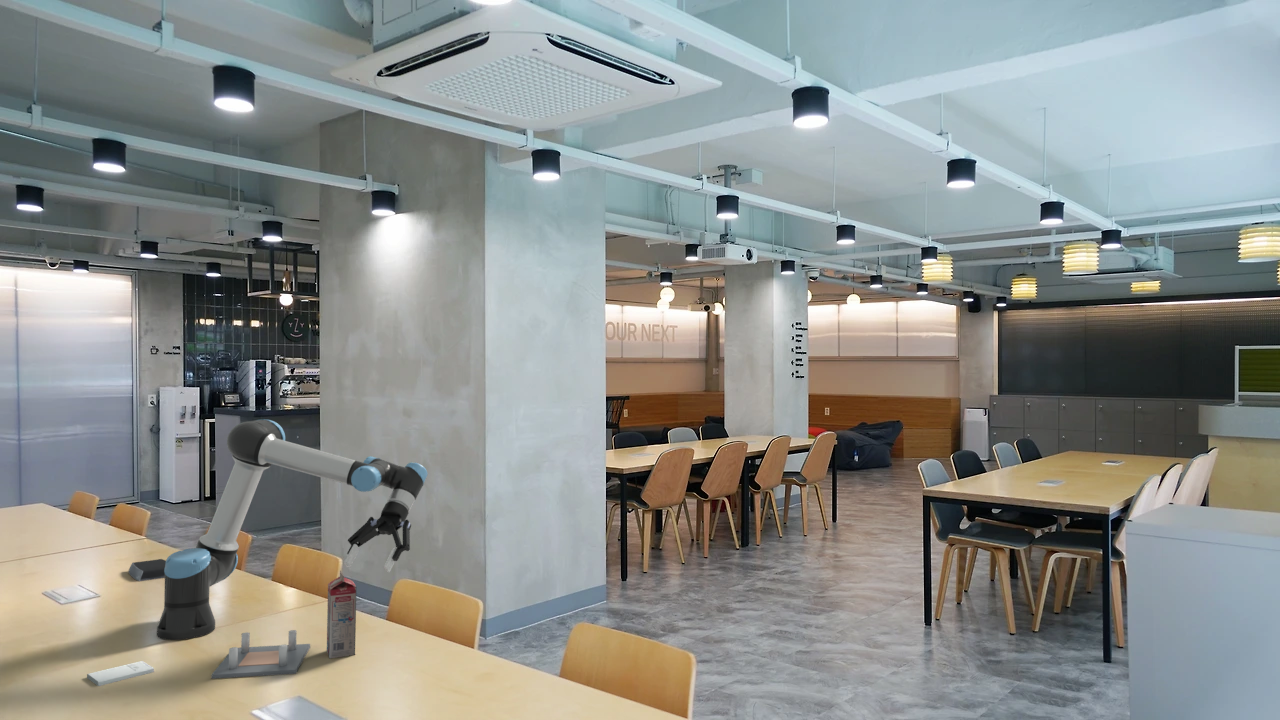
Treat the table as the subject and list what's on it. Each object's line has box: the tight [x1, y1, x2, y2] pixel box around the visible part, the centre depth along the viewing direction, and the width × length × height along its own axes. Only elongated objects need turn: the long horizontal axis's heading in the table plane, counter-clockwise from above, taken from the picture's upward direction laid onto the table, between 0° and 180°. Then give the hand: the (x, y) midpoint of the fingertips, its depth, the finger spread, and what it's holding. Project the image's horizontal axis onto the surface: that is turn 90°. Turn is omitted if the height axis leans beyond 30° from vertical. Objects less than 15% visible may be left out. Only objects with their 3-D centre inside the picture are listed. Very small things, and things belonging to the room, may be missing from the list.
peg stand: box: [210, 629, 311, 679], centre depth 215 cm, size 20×20×6 cm
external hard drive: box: [128, 558, 166, 582], centre depth 304 cm, size 13×19×4 cm
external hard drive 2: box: [86, 660, 155, 687], centre depth 205 cm, size 2×8×12 cm
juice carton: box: [326, 570, 357, 659], centre depth 223 cm, size 7×7×22 cm
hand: (366, 567), depth 233 cm, fingers open, 13 cm apart
